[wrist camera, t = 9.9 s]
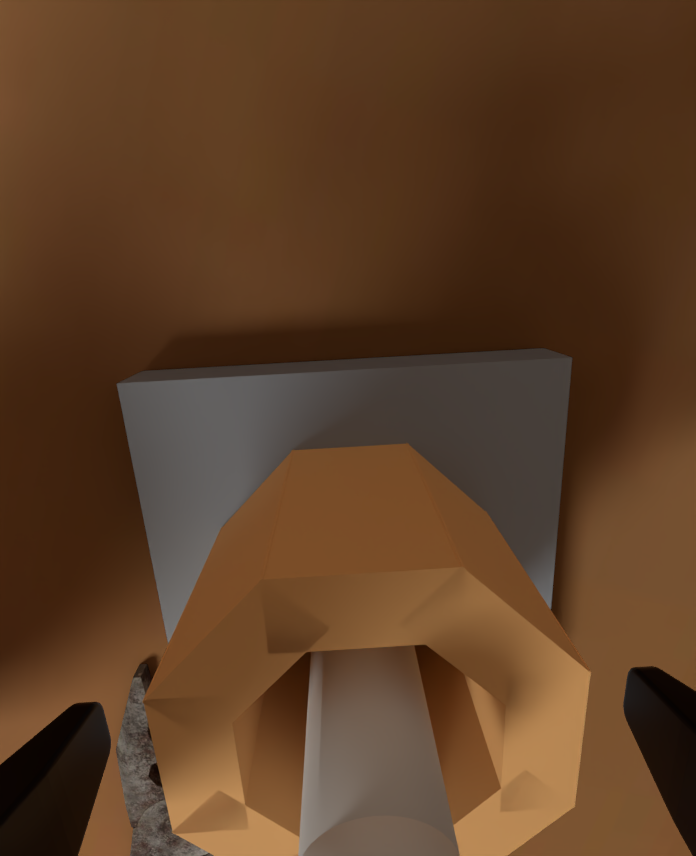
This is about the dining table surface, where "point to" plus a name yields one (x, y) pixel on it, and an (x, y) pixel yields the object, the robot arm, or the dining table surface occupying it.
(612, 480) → the dining table surface
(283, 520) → the collar
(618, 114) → the dining table surface
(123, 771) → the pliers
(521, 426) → the pin base
